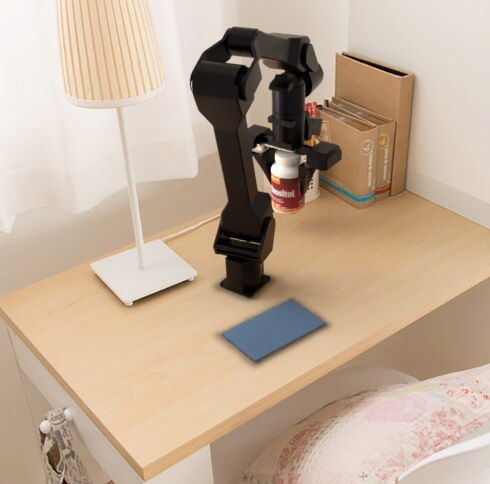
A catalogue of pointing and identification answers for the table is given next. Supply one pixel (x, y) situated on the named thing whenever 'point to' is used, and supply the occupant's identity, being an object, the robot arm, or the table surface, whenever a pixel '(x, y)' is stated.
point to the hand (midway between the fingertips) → (288, 189)
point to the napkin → (273, 330)
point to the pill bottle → (286, 183)
